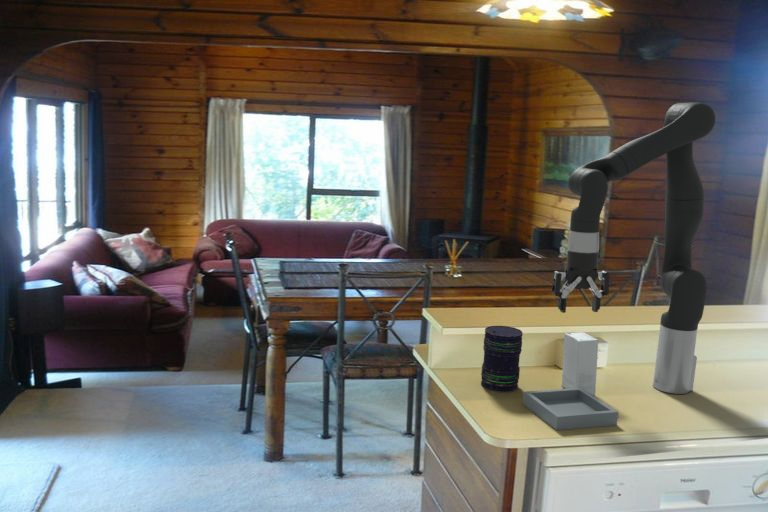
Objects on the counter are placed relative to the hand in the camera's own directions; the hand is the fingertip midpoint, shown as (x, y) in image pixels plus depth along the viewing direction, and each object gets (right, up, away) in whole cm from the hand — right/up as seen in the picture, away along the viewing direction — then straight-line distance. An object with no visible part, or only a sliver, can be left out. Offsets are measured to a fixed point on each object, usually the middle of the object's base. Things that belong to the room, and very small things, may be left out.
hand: (578, 311), depth 188 cm
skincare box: (+1, -21, +6) cm, 22 cm away
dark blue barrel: (-19, -20, +7) cm, 29 cm away
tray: (-5, -24, -11) cm, 27 cm away
